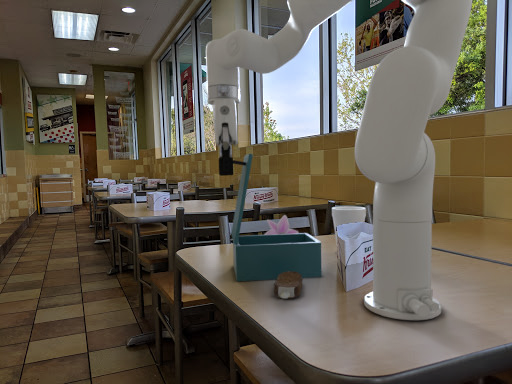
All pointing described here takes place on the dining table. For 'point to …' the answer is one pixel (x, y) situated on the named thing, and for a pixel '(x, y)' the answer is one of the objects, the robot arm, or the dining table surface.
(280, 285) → the ice cream bar
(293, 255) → the chest
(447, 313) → the dining table surface
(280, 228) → the lily
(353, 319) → the dining table surface
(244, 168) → the lid
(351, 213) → the foam cup
